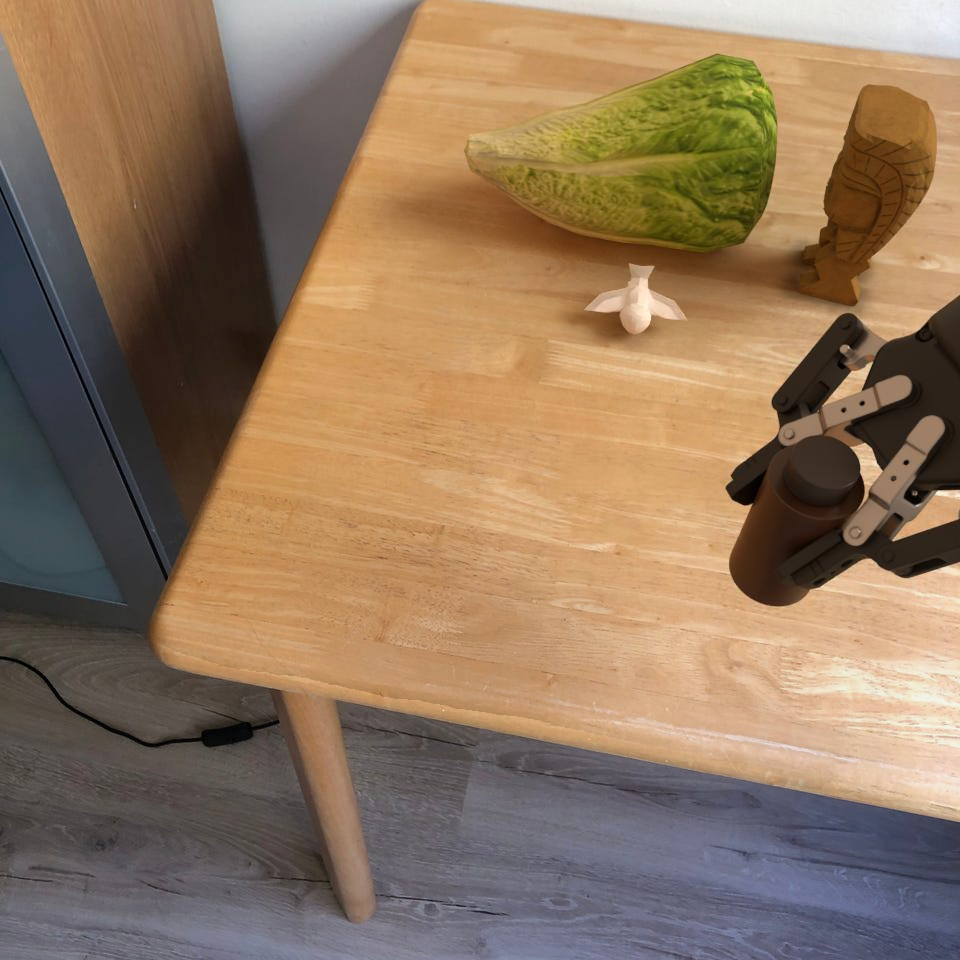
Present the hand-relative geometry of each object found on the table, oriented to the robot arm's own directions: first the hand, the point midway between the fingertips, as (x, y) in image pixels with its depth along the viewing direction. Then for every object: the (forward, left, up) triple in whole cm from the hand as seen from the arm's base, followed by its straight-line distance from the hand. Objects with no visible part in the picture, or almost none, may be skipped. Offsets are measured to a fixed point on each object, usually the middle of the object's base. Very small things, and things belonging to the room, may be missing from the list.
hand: (760, 537), depth 49 cm
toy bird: (+21, -18, -13) cm, 30 cm away
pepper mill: (-1, -2, -4) cm, 5 cm away
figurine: (+13, -34, -13) cm, 38 cm away
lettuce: (+31, -26, -13) cm, 42 cm away
